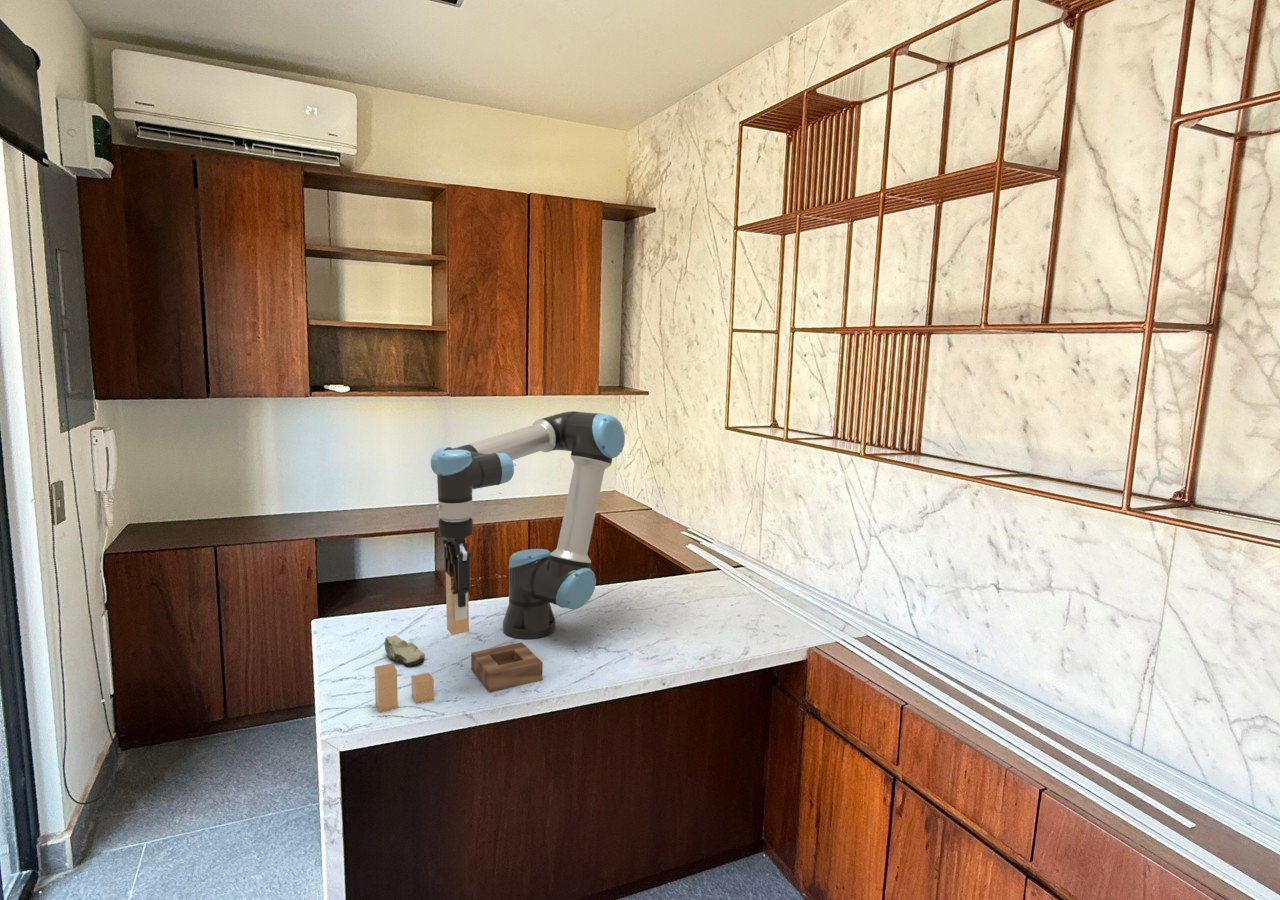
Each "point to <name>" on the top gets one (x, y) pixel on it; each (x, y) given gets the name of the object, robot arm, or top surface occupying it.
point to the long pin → (453, 625)
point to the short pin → (422, 688)
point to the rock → (403, 651)
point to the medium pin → (386, 687)
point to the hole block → (506, 666)
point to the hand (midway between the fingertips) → (457, 615)
